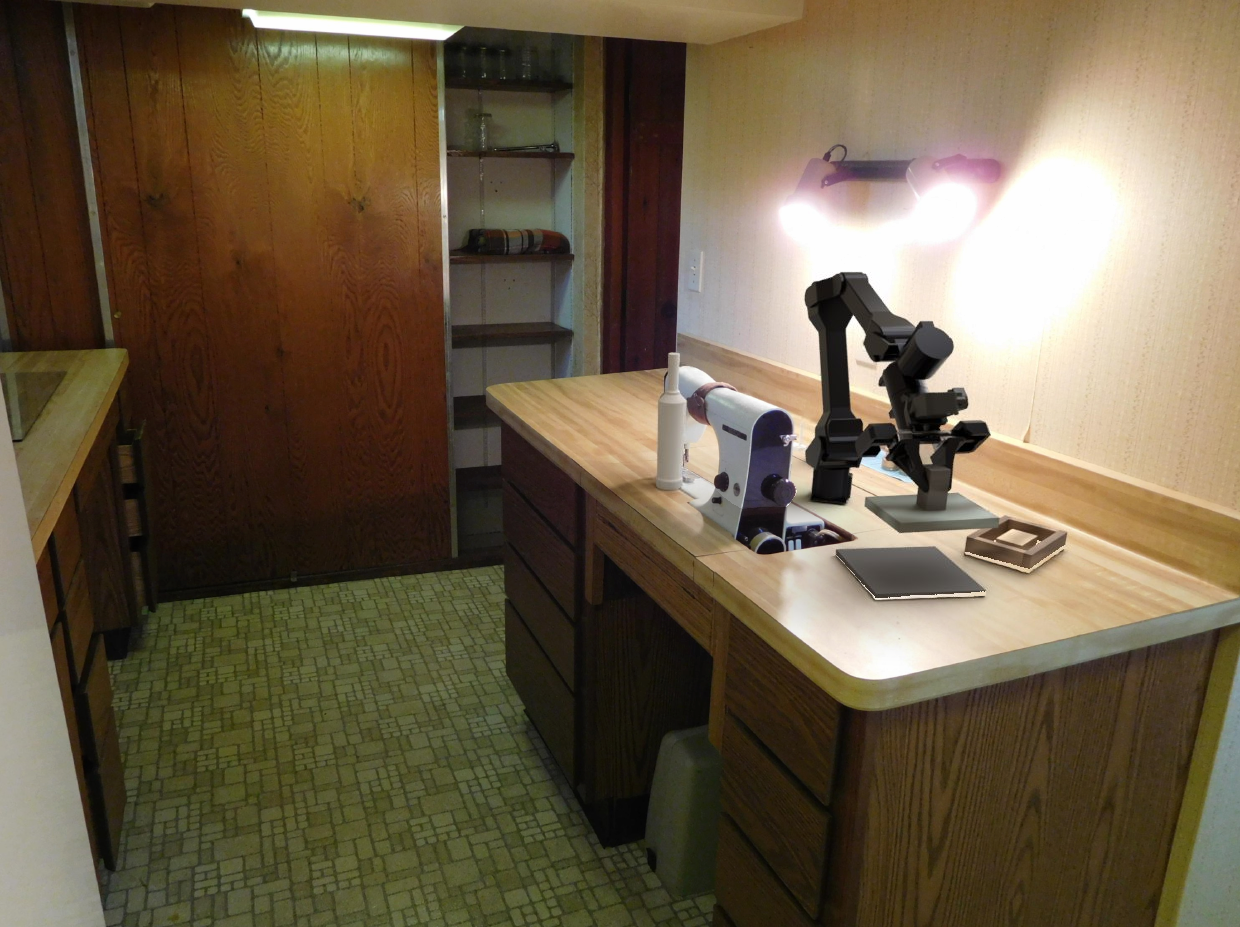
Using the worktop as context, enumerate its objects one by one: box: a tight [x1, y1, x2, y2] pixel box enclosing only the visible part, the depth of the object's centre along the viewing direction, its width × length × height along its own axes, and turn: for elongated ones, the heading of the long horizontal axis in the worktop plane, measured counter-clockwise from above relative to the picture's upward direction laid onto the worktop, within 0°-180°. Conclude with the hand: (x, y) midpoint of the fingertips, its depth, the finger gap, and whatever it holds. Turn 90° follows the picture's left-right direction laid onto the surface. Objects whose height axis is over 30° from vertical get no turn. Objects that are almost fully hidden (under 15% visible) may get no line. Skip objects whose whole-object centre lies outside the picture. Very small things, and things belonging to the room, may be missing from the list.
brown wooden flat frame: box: [964, 514, 1068, 569], centre depth 145 cm, size 10×14×3 cm
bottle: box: [654, 352, 688, 491], centre depth 169 cm, size 5×5×25 cm
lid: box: [864, 463, 1001, 534], centre depth 132 cm, size 11×15×8 cm
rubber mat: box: [835, 545, 987, 598], centre depth 136 cm, size 16×16×1 cm
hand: (937, 491), depth 131 cm, fingers closed on lid, 3 cm apart
